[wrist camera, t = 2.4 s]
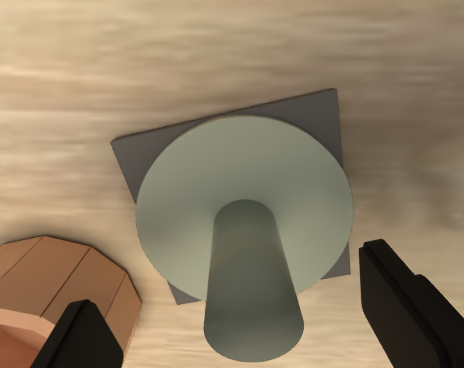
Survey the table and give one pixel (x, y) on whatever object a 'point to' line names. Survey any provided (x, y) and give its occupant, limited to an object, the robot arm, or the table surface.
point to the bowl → (57, 294)
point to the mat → (290, 110)
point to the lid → (245, 226)
